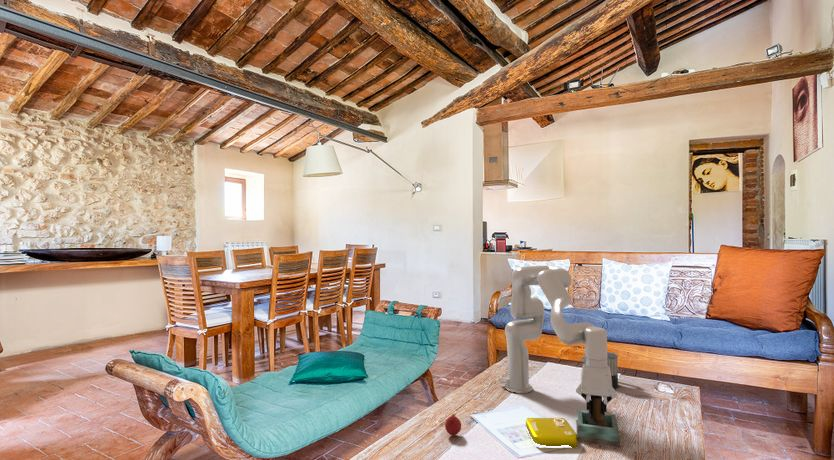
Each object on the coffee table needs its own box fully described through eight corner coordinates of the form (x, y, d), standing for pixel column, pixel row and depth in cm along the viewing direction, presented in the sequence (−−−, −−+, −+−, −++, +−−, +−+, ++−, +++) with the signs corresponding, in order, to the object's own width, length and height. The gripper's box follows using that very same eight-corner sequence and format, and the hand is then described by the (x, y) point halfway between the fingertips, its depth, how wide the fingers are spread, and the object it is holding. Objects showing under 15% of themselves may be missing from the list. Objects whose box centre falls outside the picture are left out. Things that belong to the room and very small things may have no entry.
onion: (456, 441, 148) (456, 418, 148) (442, 437, 151) (442, 415, 151) (464, 434, 153) (463, 412, 153) (450, 430, 156) (449, 409, 156)
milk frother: (618, 390, 192) (618, 358, 192) (581, 385, 198) (581, 354, 198) (618, 380, 204) (618, 350, 204) (584, 376, 211) (583, 346, 211)
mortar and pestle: (603, 423, 154) (602, 374, 154) (609, 431, 148) (608, 380, 148) (584, 422, 155) (583, 373, 155) (590, 431, 148) (589, 380, 148)
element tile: (524, 428, 158) (524, 416, 158) (565, 428, 157) (564, 416, 157) (534, 449, 143) (534, 435, 143) (579, 449, 142) (579, 435, 142)
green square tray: (576, 441, 147) (576, 425, 147) (576, 423, 160) (576, 409, 160) (621, 447, 142) (620, 431, 142) (616, 429, 155) (616, 414, 155)
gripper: (571, 363, 151) (571, 414, 151) (622, 367, 145) (623, 420, 145) (571, 357, 158) (571, 405, 158) (620, 361, 152) (621, 411, 152)
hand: (596, 412), depth 151 cm, fingers closed on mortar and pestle, 3 cm apart
